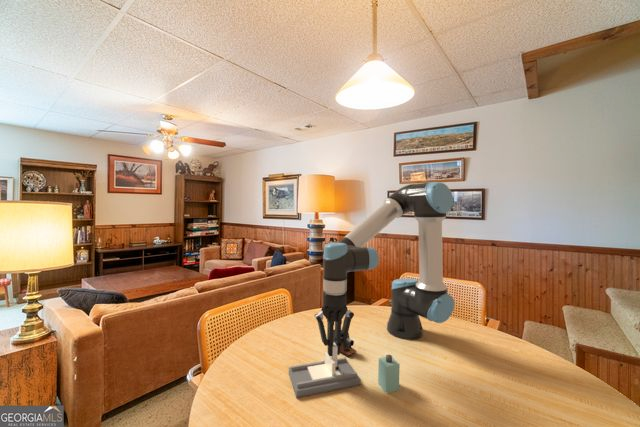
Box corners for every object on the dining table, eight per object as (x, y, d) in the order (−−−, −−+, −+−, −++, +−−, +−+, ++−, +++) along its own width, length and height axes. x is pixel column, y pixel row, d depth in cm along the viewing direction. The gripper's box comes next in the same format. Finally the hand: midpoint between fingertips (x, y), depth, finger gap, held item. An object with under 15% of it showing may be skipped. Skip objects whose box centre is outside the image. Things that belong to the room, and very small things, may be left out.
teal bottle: (390, 381, 86) (391, 351, 85) (399, 390, 81) (399, 358, 81) (378, 383, 84) (378, 353, 84) (385, 393, 80) (386, 361, 80)
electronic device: (349, 358, 98) (349, 337, 98) (329, 348, 105) (330, 329, 105) (356, 354, 101) (356, 333, 101) (337, 344, 108) (337, 325, 108)
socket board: (345, 363, 95) (345, 355, 95) (360, 385, 83) (360, 375, 83) (288, 373, 89) (288, 364, 89) (296, 398, 77) (296, 387, 77)
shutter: (327, 365, 90) (327, 351, 90) (335, 377, 84) (335, 363, 83) (307, 368, 88) (307, 354, 88) (313, 381, 81) (313, 366, 81)
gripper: (348, 286, 92) (347, 355, 92) (311, 289, 88) (310, 361, 89) (358, 293, 85) (357, 368, 85) (318, 297, 81) (317, 375, 81)
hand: (333, 364), depth 87 cm, fingers closed
